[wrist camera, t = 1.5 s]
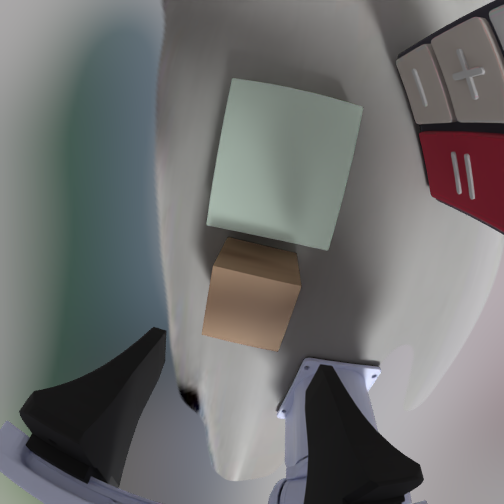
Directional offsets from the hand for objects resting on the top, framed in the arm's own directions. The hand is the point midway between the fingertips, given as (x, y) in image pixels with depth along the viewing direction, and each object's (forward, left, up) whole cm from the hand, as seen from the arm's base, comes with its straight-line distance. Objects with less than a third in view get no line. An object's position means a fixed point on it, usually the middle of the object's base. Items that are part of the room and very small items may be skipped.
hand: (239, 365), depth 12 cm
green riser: (+8, 0, -10) cm, 13 cm away
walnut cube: (0, 0, -10) cm, 10 cm away
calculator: (+14, -10, -10) cm, 20 cm away
